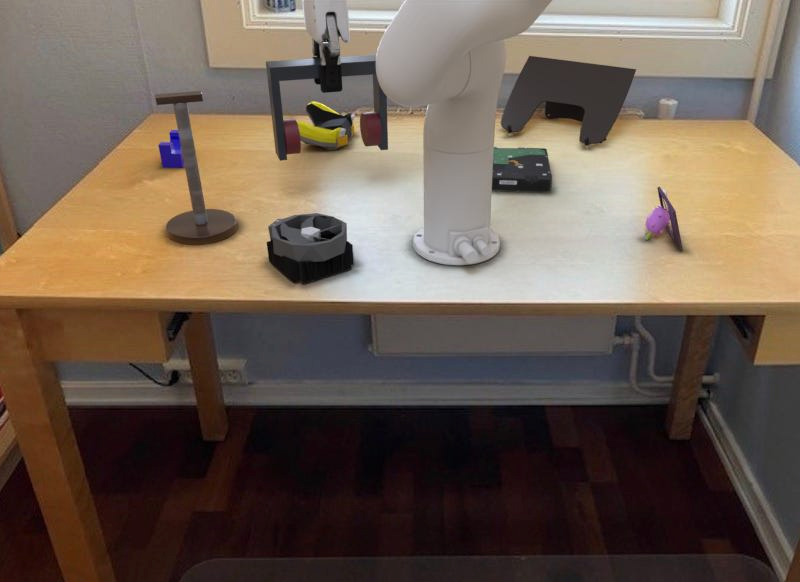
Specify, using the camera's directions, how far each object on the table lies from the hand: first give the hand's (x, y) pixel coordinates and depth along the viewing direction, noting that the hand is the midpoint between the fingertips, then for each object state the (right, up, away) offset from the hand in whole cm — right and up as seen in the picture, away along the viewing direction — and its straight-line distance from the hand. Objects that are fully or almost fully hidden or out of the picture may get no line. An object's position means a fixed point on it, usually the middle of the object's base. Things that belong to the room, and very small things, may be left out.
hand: (328, 86), depth 119 cm
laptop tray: (+41, +5, +40) cm, 57 cm away
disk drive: (+30, -10, +18) cm, 37 cm away
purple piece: (+50, -23, -1) cm, 55 cm away
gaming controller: (-6, 0, +31) cm, 31 cm away
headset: (0, -8, +6) cm, 10 cm away
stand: (-18, -22, -3) cm, 29 cm away
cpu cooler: (0, -29, -11) cm, 30 cm away
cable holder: (-30, -6, +21) cm, 37 cm away
